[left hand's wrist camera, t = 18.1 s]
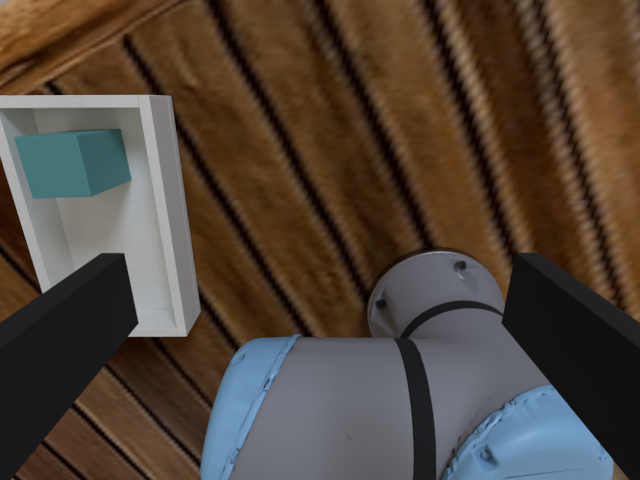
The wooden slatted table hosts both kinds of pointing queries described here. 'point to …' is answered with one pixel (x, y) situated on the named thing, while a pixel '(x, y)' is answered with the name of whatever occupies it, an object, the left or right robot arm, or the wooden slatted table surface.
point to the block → (73, 162)
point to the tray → (112, 204)
